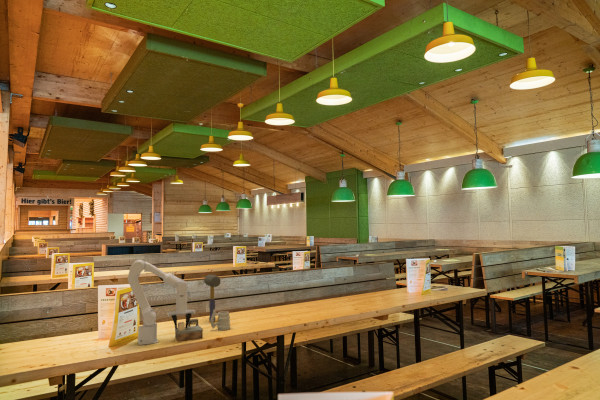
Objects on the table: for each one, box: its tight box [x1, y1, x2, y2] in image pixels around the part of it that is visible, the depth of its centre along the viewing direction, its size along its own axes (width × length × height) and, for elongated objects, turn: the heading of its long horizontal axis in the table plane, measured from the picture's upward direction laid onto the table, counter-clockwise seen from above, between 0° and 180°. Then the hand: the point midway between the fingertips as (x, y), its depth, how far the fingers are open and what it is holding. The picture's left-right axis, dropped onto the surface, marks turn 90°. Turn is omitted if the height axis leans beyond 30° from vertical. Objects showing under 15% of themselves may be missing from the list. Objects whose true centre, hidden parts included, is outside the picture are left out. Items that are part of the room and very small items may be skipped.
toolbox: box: [174, 318, 204, 343], centre depth 214 cm, size 13×16×8 cm
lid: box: [174, 321, 203, 334], centre depth 211 cm, size 13×10×4 cm
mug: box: [209, 309, 231, 331], centre depth 229 cm, size 8×12×12 cm, turn 116°
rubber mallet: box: [204, 274, 221, 323], centre depth 249 cm, size 12×8×30 cm, turn 34°
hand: (181, 328), depth 209 cm, fingers open, 5 cm apart
